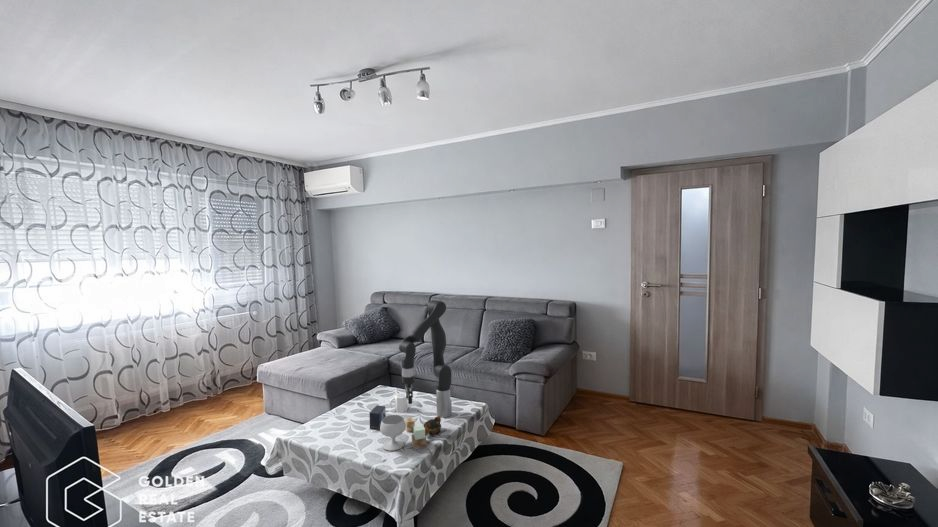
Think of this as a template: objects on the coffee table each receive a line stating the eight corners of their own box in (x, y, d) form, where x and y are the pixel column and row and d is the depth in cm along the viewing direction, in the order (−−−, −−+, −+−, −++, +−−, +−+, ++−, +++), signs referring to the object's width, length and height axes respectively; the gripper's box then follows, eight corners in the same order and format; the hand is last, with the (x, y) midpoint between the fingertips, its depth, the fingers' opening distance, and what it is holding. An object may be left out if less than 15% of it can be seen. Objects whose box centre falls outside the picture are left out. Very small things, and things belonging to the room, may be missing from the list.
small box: (379, 430, 233) (378, 413, 233) (369, 429, 235) (368, 412, 234) (386, 421, 244) (385, 405, 243) (376, 421, 245) (376, 405, 244)
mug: (407, 406, 266) (406, 392, 265) (408, 411, 257) (407, 397, 257) (389, 408, 263) (388, 394, 262) (389, 413, 254) (389, 399, 254)
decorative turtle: (446, 428, 233) (445, 416, 232) (432, 442, 220) (431, 429, 219) (432, 424, 238) (432, 412, 237) (418, 437, 225) (417, 424, 224)
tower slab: (424, 440, 220) (423, 432, 220) (426, 447, 214) (426, 438, 213) (412, 443, 218) (411, 434, 218) (414, 449, 212) (413, 440, 211)
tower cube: (423, 433, 219) (423, 424, 219) (425, 438, 214) (425, 429, 213) (413, 435, 217) (413, 426, 217) (415, 439, 212) (415, 431, 212)
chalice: (411, 444, 216) (410, 418, 215) (391, 455, 206) (390, 428, 205) (396, 436, 226) (395, 411, 225) (375, 446, 215) (374, 420, 214)
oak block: (413, 427, 236) (413, 417, 236) (414, 430, 232) (414, 421, 231) (405, 428, 235) (405, 418, 235) (406, 432, 230) (406, 422, 230)
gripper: (416, 377, 225) (417, 404, 227) (412, 369, 239) (413, 395, 240) (403, 379, 223) (404, 406, 224) (400, 371, 237) (401, 397, 238)
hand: (409, 400), depth 232 cm, fingers open, 8 cm apart
